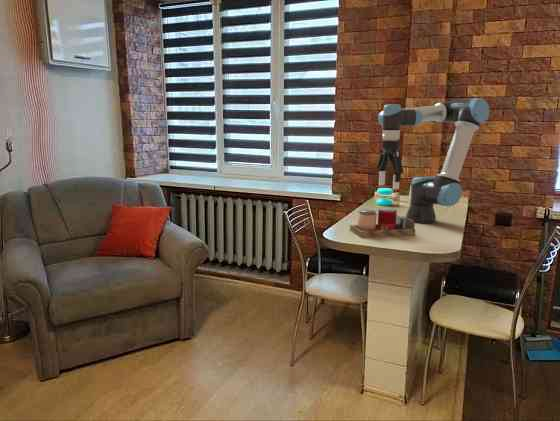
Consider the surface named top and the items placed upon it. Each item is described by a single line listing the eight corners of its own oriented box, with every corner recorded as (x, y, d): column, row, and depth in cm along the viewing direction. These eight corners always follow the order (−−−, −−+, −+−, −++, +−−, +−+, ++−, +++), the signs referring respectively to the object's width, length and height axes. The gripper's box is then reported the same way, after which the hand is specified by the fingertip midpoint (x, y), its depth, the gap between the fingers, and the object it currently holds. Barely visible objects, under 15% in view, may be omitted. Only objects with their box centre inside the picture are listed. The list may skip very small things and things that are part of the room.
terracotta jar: (371, 230, 200) (372, 209, 198) (378, 234, 192) (379, 212, 190) (354, 231, 198) (355, 209, 196) (361, 235, 190) (362, 212, 188)
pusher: (400, 228, 204) (401, 214, 202) (410, 233, 194) (411, 218, 193) (392, 228, 203) (393, 214, 201) (402, 233, 193) (403, 218, 192)
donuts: (386, 190, 266) (373, 188, 274) (385, 206, 268) (373, 204, 276) (396, 189, 273) (383, 187, 280) (395, 204, 274) (383, 202, 282)
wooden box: (401, 230, 205) (402, 216, 204) (414, 237, 194) (415, 221, 192) (349, 232, 200) (350, 217, 199) (360, 239, 188) (360, 223, 187)
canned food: (398, 234, 194) (400, 209, 192) (382, 234, 192) (383, 210, 190) (389, 230, 202) (391, 206, 199) (374, 230, 199) (375, 207, 197)
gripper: (370, 139, 205) (369, 183, 209) (396, 141, 181) (394, 191, 185) (385, 138, 207) (383, 183, 211) (412, 140, 183) (410, 190, 187)
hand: (388, 187), depth 198 cm, fingers open, 13 cm apart
